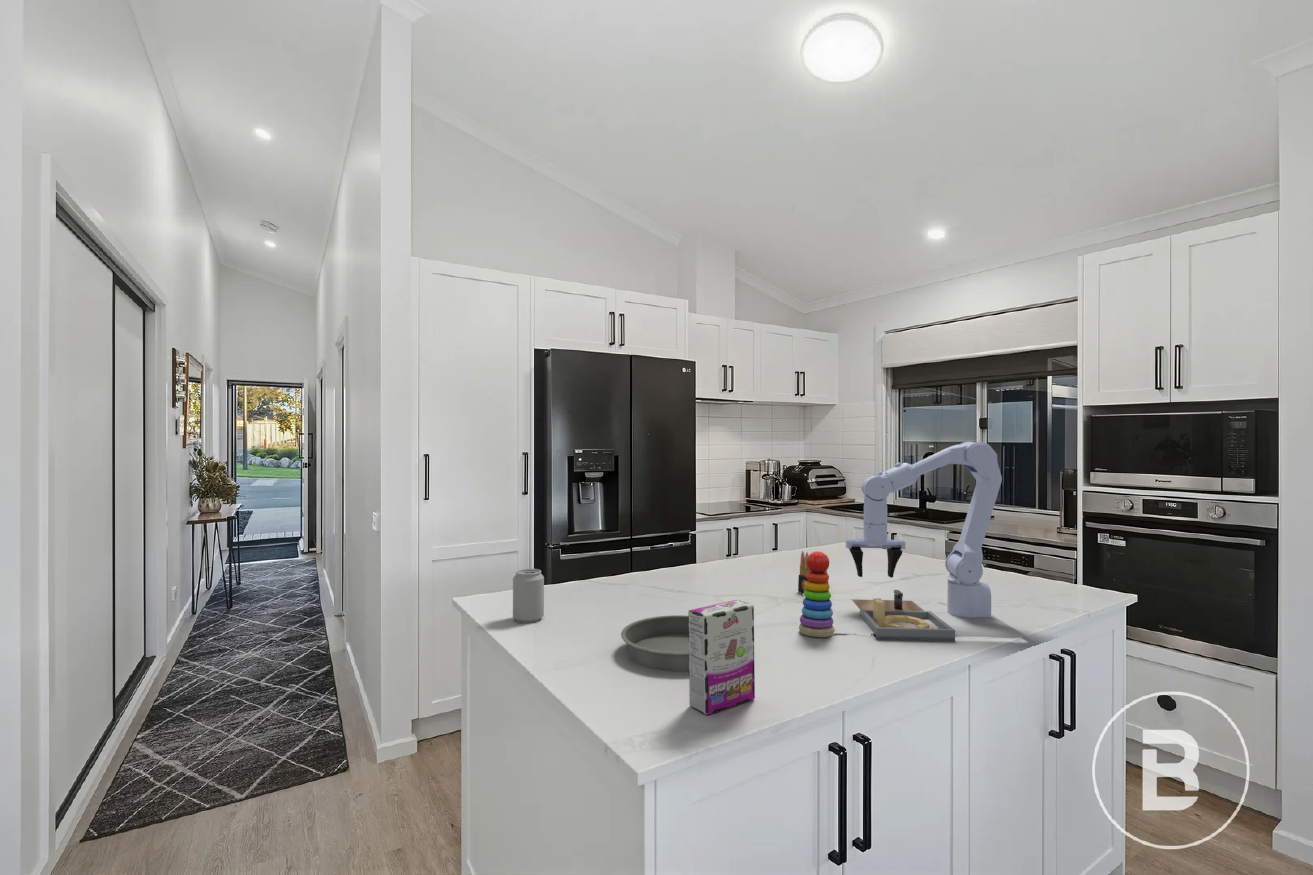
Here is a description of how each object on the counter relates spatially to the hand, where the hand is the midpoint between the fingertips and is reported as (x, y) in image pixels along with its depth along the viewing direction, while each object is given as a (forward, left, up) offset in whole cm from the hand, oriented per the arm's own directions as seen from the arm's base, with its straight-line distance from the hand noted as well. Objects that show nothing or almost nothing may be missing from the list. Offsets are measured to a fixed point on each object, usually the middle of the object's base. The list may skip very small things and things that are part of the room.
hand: (875, 576), depth 161 cm
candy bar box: (+41, +57, -10) cm, 71 cm away
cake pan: (+49, +33, -10) cm, 60 cm away
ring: (-3, +14, -9) cm, 17 cm away
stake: (-6, -1, -8) cm, 10 cm away
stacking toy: (+18, +18, -10) cm, 27 cm away
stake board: (-4, -2, -9) cm, 11 cm away
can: (+87, +13, -10) cm, 88 cm away
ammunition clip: (+13, -16, -10) cm, 23 cm away
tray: (-3, +14, -9) cm, 17 cm away
